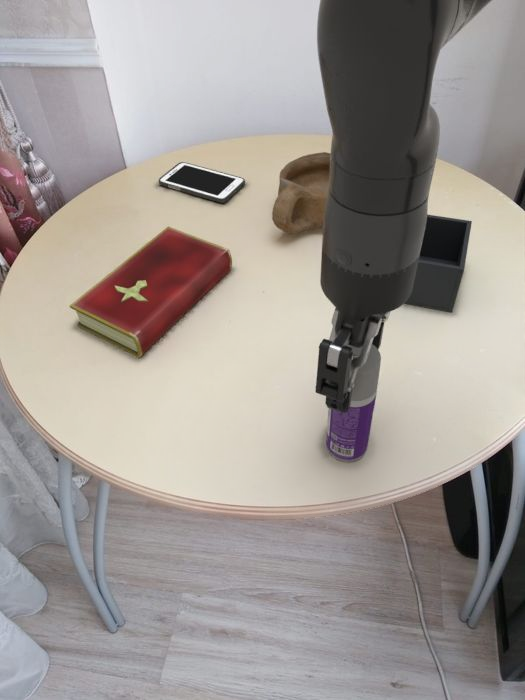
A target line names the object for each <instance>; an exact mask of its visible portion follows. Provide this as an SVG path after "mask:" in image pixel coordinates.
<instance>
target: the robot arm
mask: <svg viewBox="0 0 525 700" xmlns="http://www.w3.org/2000/svg"><path fill="white" fill-rule="evenodd" d="M492 1H493V0H319V7H318V11H317V20H316V49H317V56H318V59H317V60H318V65H319V70H320V76H321V83H322V88H323V94H324V99H325V106H326V111H327V115H328V118H329V123H330V127H331V131H332V136H331V143H330V153H331V154H330V172H329V188H328V195H327V200H326V204H325V210H324V220H323V226H322V240H321V241H322V242H321V259H320V261H321V262H320V277H319V279H320V280H319V281H320V287H321V291H322V292H323V294H324V296H325V297H326V299H327V300H328V301H329V302H330V303H331V304H332V305H333V307H334V311H333V314H332V317H331V325H332V328H331V331H330V335H329V339H327V338H323V339H322V340H321V342H320V343H319V345H318V356H317V357H318V358H317V366H316V367H317V369H316V381H315V393H316V394H318V395H320V396H321V395H322V396H324V397H325V402H324V403H325V405H326V407H327V409H328V408H330V409H333V410H336V411H338V412H341V413H342V412H343V413H346V412H348V410H349V408H350V404H351V397H352V389H353V387H354V380H355V377H356V374H357V371H358V368H360V367H362V366H363V365H365V363H366V361H367V358H368V354H369V351H370V348H371V345H372V344H373V345H374V346H375V347H376V348H377V349H378V350H380V347H381V345H382V340H383V339H382V338H383V334H384V327H385V323H386V322H387V321H388V320H389V318H390V314H391V312H393V311H395V310H396V309H399V308H400V307H402V306H403V305H405V304H404V303H405V302H406V301H407V300H408V298H409V297H410V295H411V292H412V289H413V284H414V280H415V275H416V270H417V265H418V261H419V256H420V251H421V247H422V242H423V237H424V233H425V227H426V221H427V215H428V207H429V205H428V204H429V196H430V190H431V186H432V181H433V176H434V171H435V167H436V161H437V158H438V151H439V145H440V137H441V136H440V135H441V125H440V119H439V116H438V113H437V112H436V109H435V108H434V107H433V106H432V104H431V97H432V87H433V81H434V75H435V72H436V71H435V70H436V67H437V62H438V59H439V57H440V52H441V50H442V49H443V48H444V47H445V46H446V45H447V44H449V42H450V41H451V40H453V38H454V37H456V35H458V33H460V32H461V31H462V29H464V28H465V27H466V26H467V25H468V24H469V23H470V22H471V21H472V20H473V19H474V18H475V17H476V16H478V15H479V13H480V12H481V11H483V10H484V9H485V8H486V7H487V6H488V5H489V4H491V2H492ZM348 345H350V346H353V347H357V348H360V347H362V349H361V352H360V355H359V356H357V355H354V354H353V348H351V347H348Z"/></svg>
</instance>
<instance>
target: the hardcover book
mask: <svg viewBox="0 0 525 700" xmlns="http://www.w3.org/2000/svg"><path fill="white" fill-rule="evenodd" d="M232 269H233V257H232V253H231V251H230V249H229V248H227V247H225V246H221V245H219V244H217V243H213V242H211V241H208V240H206V239H203V238H200V237H197V236H196V235H192V234H189V233H187V232H185V231H182V230H179V229H176V228H173V227H171V226H169V225H168V226H167V227H165V228H164V229H163V230H162V231H161V232H159V233H158V234H157V235H155V236H154V237H153V238H152V239H151V240H149V241H148V242H147V243H146V244H144V245H143V246H142V247H141V248H139V249H138V250H136V252H135V253H133V254H132V255H131V256H129V257H128V258H127V259H125V260H124V261H123V262H122V263H121V264H120V265H118V266H117V267H116V268H114V269H113V270H112V271H110V272H109V273H108V274H107V275H106V276H104V277H103V278H102V279H101V280H99V281H98V282H97V283H96V284H94V285H93V286H92V287H91V288H89V289H88V290H87V291H86V292H85V293H83V294H82V295H81V296H80V297H79V298H77V299H75V301H73V302H71V304H70V305H69V308H70V309H71V310H74V311H75V312H76V314H77V318H78V320H79V322H78V323H76V326H77V327H78V328H80V329H82V330H84V331H86V332H88V333H90V334H92V335H94V336H96V337H97V338H99V339H102V340H104V341H106V342H108V343H110V344H111V345H113V346H116V347H118V348H119V349H122V350H124V351H125V352H127V353H130V354H131V355H133V356H135V357H137V358H139V359H140V358H142V357H143V355H144V354H146V352H147V351H148V350H149V349H151V348H152V347H153V345H155V343H157V342H158V341H159V340H160V339H161V338H162V337H163V336H164V335H166V333H167V332H168V331H169V330H170V329H171V328H172V327H173V326H174V325H175V324H177V323H178V322H179V320H181V318H183V317H184V316H185V315H186V314H187V313H188V312H189V311H190V310H191V309H192V308H193V307H195V306H196V304H197V303H198V302H199V301H200V300H201V299H202V298H203V297H205V296H206V295H207V294H208V293H209V292H210V291H211V290H213V287H215V286H216V285H217V284H218V283H219V282H220V281H221V280H222V279H223V278H224V277H225V276H226V275H227V274H228V273H229V272H230V271H232Z"/></svg>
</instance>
